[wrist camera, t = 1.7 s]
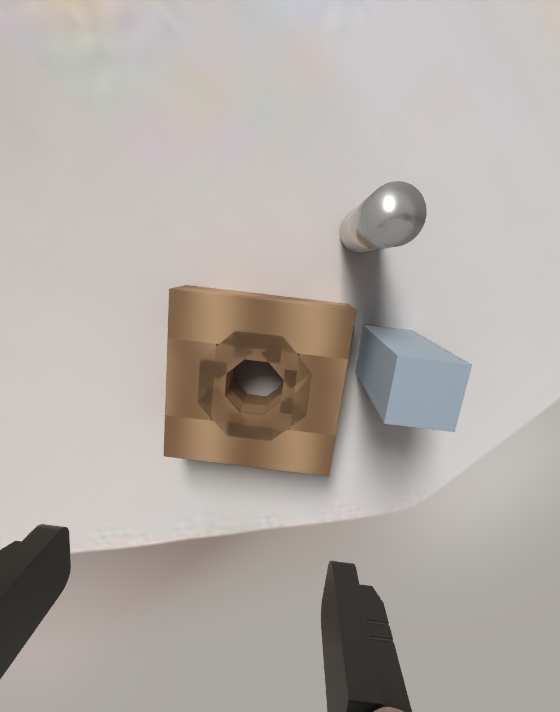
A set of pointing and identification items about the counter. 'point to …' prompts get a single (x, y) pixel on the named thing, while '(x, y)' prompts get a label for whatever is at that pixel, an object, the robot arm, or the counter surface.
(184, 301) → the bore block
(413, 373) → the square peg
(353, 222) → the round peg
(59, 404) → the counter surface
